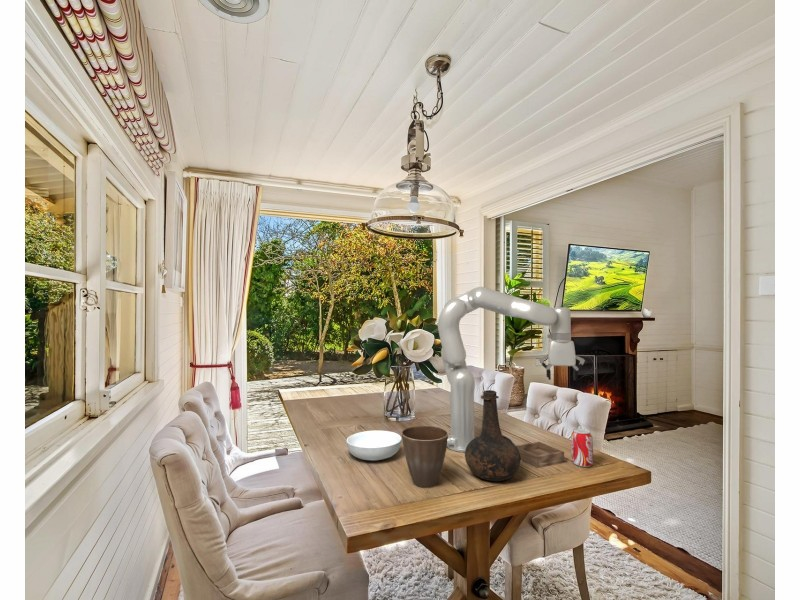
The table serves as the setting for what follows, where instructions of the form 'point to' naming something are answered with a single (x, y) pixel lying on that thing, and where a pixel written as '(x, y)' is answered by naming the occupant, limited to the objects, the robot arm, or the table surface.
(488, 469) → the glass bottle
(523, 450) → the open storage box
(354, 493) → the table surface
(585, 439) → the soda can
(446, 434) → the plant pot
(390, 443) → the serving bowl
